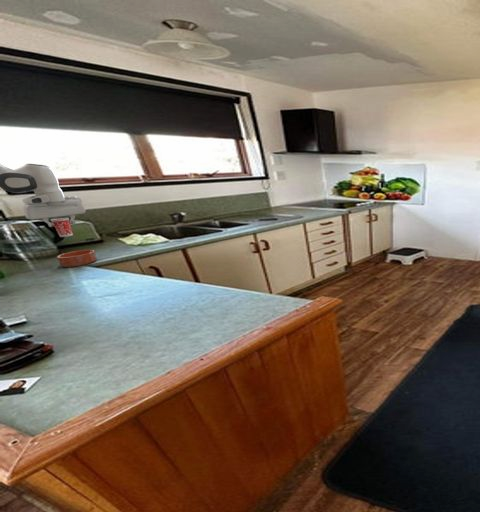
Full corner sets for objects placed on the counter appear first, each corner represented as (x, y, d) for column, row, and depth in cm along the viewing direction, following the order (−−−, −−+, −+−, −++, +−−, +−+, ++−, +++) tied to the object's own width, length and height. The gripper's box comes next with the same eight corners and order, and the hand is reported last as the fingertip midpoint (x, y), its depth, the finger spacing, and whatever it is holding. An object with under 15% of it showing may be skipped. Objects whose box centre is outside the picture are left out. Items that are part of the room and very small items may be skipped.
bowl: (57, 269, 136) (53, 259, 135) (65, 262, 146) (61, 253, 145) (94, 263, 144) (90, 254, 142) (99, 257, 154) (95, 248, 152)
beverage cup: (54, 237, 138) (43, 210, 133) (62, 235, 143) (51, 208, 138) (71, 236, 140) (60, 209, 136) (77, 233, 145) (67, 207, 141)
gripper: (76, 195, 145) (86, 220, 150) (16, 200, 128) (29, 228, 132) (82, 195, 143) (92, 221, 147) (22, 200, 125) (35, 229, 130)
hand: (62, 225), depth 140 cm, fingers closed on beverage cup, 6 cm apart
